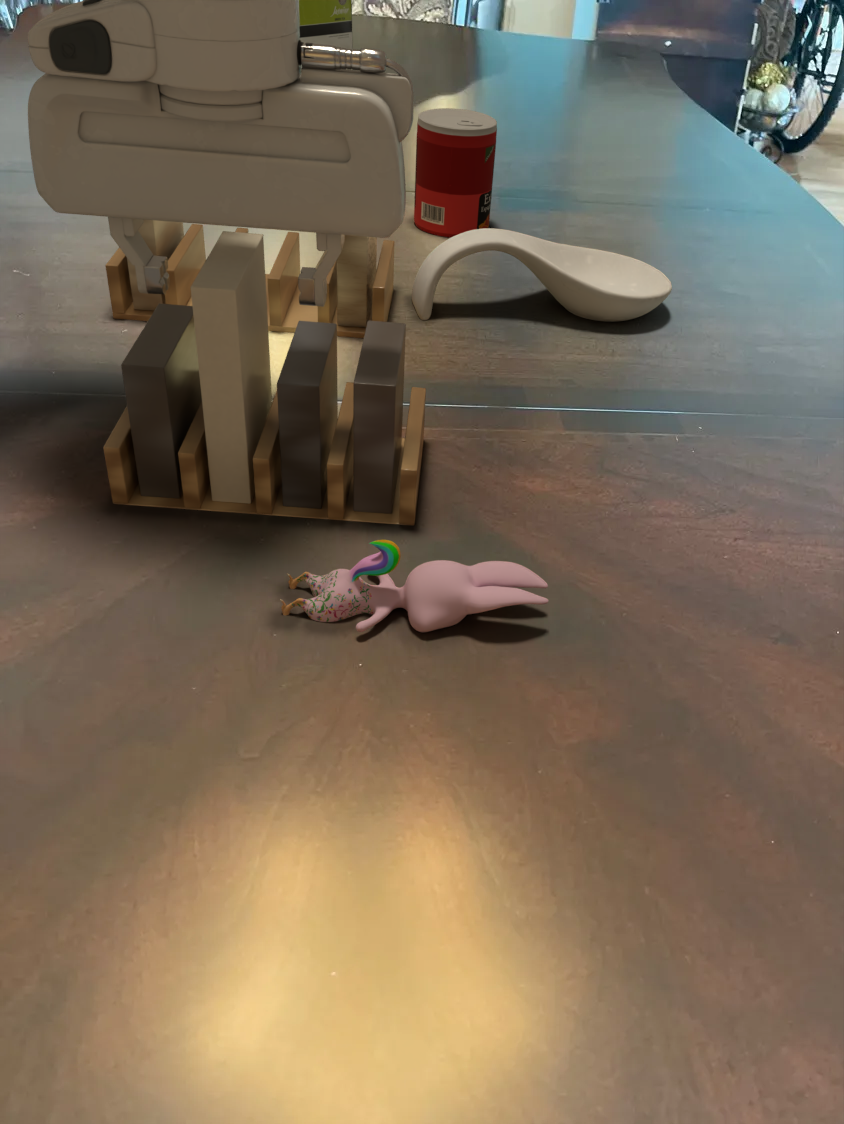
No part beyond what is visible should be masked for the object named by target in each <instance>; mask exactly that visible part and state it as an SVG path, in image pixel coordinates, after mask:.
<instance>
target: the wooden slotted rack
mask: <svg viewBox="0 0 844 1124" xmlns="http://www.w3.org/2000/svg"><path fill="white" fill-rule="evenodd" d="M203 225H204V224H196V223H191V225H190V226H189V228H188V229H187V230H186V232H185V231H184V223H183V222H170V221H157V220H144V223H143V224H142V226H141V227H140V228H139V230H138V231H139V233H140V235H141V236H142V238H143V239H144V241H145V242H146V244H147V246H148V247H149V249H150V250H151V252H152V253H153V255H154V256H164V257H167V261H168V269H167V271H166V272H167V273H168V274H169V277H170V285H169V289H168V290H166V294H145V293H140V292H139V290H138V285H137V278H136V271H135V265H132V264H131V262H130V261H129V260H128V258H127V257H126V256H125V254H124V253H123V252H122V250H121V249H120V247H119V246H118V248H117V250H115V252H114V253H113V255H112V256H111V257H110V258H109V260H108V261H107V263H106V264H105V265H104V266H105V272H106V279H107V284H108V293H109V298H110V305H111V312H112V318H113V319H115V320H117V319H118V320H129V321H138V322H139V321H142V322H148V320H149V319H150V317H151V316H152V314H153V312H154V311H155V309H156V307H157V306H158V304H159V303H160V304H172V305H185V306H192V296H191V286H192V284H193V282H194V280H195V279H196V277H197V275H198V273H199V272H200V270H201V268H202V266H203V265H204V263H205V261H206V260H207V254H206V245H205V233H204V226H203ZM234 232H241V233H249V228H248V227H236V229H235V231H234ZM395 243H396V242H395V240H392V239H391V240H390V239H383V241H382V245H381V249H380V254H379V257H378V261H377V256H378V255H377V254H378V252H377V251H378V237H365V236H352V235H345V241H344V244H343V247H342V250H341V253H340V255H339V257H338V258H337V260H336V262H335V263H334V265H333V267H332V269H331V270H330V272H329V274H328V275H327V297H326V302H325V305H324V307H322V306H309V305H300V304H299V294H300V290H299V289H298V277H299V274H301V249H300V248H301V247H300V232H299V231H287V233H286V235H285V238H284V240H283V241H282V244H281V247H280V249H279V251H278V254H277V256H276V258H275V260H274V262H273V265H272V267H271V270H270V272H269V273H265V278H266V297H267V316H268V332H276V333H277V332H278V333H279V332H280V333H291V334H294V333H295V330H296V327H297V324H298V322H299V321H310V322H322V323H335V324H337V337H341V338H354V339H364V335H365V331H366V326H367V322H368V321H382V322H388V320H389V313H390V310H391V309H390V308H391V305H392V299H393V293H394V282H395V281H394V279H395V275H394V274H395Z"/></svg>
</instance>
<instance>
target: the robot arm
mask: <svg viewBox="0 0 844 1124" xmlns="http://www.w3.org/2000/svg"><path fill="white" fill-rule="evenodd" d="M27 47H28V51H29V55H30V58H31V62H32V63H33V65H34V66H35V68H36V69H37V70H39V71H40V72H42V73H44V74H43V75H42V76H40V77H39V78H38V79H36V81H35V82H34V83H33V84H32V86H31V89H30V92H29V94H28V95H29V96H28V100H27V124H28V125H27V128H28V129H27V130H28V139H29V151H30V160H31V166H32V167H31V168H32V172H33V173H32V174H33V179H34V183H35V187H36V190H37V193H38V195H39V196H40V197H41V198H42V200H43V201H44V202H45V203H46V204H47V205H48V206H49V208H51V210H53V211H54V212H55V213H57V214H66V215H67V214H68V215H81V216H92V217H93V216H94V217H104V218H105V217H107V220H108V228H109V234H110V237H111V239H112V240H113V241H114V242H115V243H116V245H117V246H118V248H119V247H120V249H121V250H122V252H123V253H124V254H125V256H126V257H127V258H128V260H129V261H130V262H131V264H132V265H135V271H136V278H137V285H138V290H139V292H140V293H145V294H166V290H168V289H169V285H170V277H169V274H168V273H167V272H166V271H167V269H168V261H167V257H164V256H154V255H153V253H152V252H151V250H150V249H149V247H148V246H147V244H146V242H145V241H144V239H143V238H142V236H141V235H140V233H139V231H138V230H139V228H140V227H141V226H142V224H143V223H144V220H157V221H170V222H183V224H184V223H185V224H200V225H209V226H221V227H222V226H224V227H235V228H248V229H249V228H250V229H263V230H276V231H287V232H299V233H301V232H302V233H314V234H315V239H316V240H315V241H316V242H315V243H316V250H317V251H318V252H323V253H322V255H321V257H320V258H319V260H318V262H317V263H316V265H315V267H308V266H302V267H301V268H300V274H299V277H298V289H299V290H300V294H299V304H300V305H309V306H322V307H324V305H325V302H326V297H327V275H328V274H329V272H330V270H331V269H332V267H333V265H334V263H335V262H336V260H337V258H338V257H339V255H340V253H341V250H342V247H343V244H344V241H345V235H352V236H365V237H377V239H378V238H380V239H387V238H389V237H390V238H391V236H392V235H394V233H395V232H396V231H397V230H398V229H399V228H400V227H401V225H402V224H403V222H404V219H405V215H406V214H405V213H406V204H407V200H406V199H407V191H406V168H405V158H404V149H403V148H404V147H403V146H404V145H403V141H404V140H405V139H406V138H407V136H408V135H409V133H410V131H411V130H412V126H413V123H414V105H415V103H414V102H415V89H414V84H413V82H412V79H411V77H410V75H409V73H408V72H407V70H406V69H405V68H404V67H403V66H402V65H401V64H399V62H397V61H395V60H393V59H392V58H388V57H387V53H386V51H383V50H381V49H377V48H372V47H361V48H360V49H357V48H356V49H355V48H353V49H348V48H347V49H346V48H343V47H342V48H341V47H338V46H337V47H336V46H333V45H325V44H313V43H304V42H301V40H300V22H299V0H80V1H77V2H75V3H71V4H68V5H66V6H64V7H60V8H58V9H57V10H54V11H53V12H51V13H49V14H47V15H46V16H45V15H44V17H43V18H41V19H40V20H39V21H37V22H36V23H34V25H33V26H32V27H31V28H30V29H29V31H28V32H27ZM387 68H388V69H390V70H392V71H394V72H395V73H391V72H387V71H386V70H387Z"/></svg>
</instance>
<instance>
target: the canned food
mask: <svg viewBox="0 0 844 1124" xmlns="http://www.w3.org/2000/svg"><path fill="white" fill-rule="evenodd" d="M416 122H417V124H416V141H415V143H416V144H415V173H414V174H415V175H414V201H413V203H414V204H413V205H414V208H413V222H414V224H415V227H416V228H418V229H419V230H420V231H422V232H424V233H427V234H430V235H432V236H433V235H434V236H437V237H443V238H451V237H453V236H456V235H458V234H460V233H463V232H466V231H470V230H475V229H483V228H490V218H491V207H492V206H491V205H492V195H493V182H494V171H495V160H496V159H495V158H496V149H497V136H498V135H497V134H498V126H497V125H498V122H497V119H496V118H494V117H492V116H491V115H488V114H487V113H483V112H480V111H476V110H470V109H463V108H454V107H453V108H450V107H446V108H445V107H440V108H430V109H426V110H424V111H421V112H420V113H418V116H417V121H416Z"/></svg>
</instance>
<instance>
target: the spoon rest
mask: <svg viewBox="0 0 844 1124" xmlns="http://www.w3.org/2000/svg"><path fill="white" fill-rule="evenodd" d="M487 251H488V252H489V251H492V252H493V251H494V252H501V253H504V254H507V255H510V256H512V257H513V258H515V259H517V260H518V261H520V262H521V263H522V264H523V265H524V266H525V267H527V269H528V270H529V271H530V272H531V273H532V274H533V275H534V276H535V277H536V278H537V280H538V281H539V282H540V283H541V284H542V285H543V286H544V287H545V288H546V290H547V292H549V294H551V296H553V298H554V299H555V301H557V302H558V303H559V304H560V305H561V307H563V308H565V310H567V311H568V312H569V313H570V314H573V315H574V316H576V317H579V318H583V319H586V320H590V321H598V322H606V323H608V322H609V323H611V322H613V323H614V322H623V321H624V322H625V321H629V320H633V319H637V318H639V317H642V316H645V315H646V314H648V313H650V312H651V311H653V310H654V309H656V308H657V307H658V306H660V305H661V304H662V303H663V302H664V301H665V300H666V299H667V298H668V297H670V296H669V295H670V294H671V293H672V291H673V286H672V282H671V280H670V279H669V278H668V276H666V275H665V273H664V272H662V271H661V270H659V269H658V268H656V267H655V266H653V265H650V264H649V263H647V262H644V261H642V260H640V259H637V258H634V257H632V256H628V255H624V254H620V253H617V252H612V251H608V250H603V249H602V250H601V249H597V248H591V247H584V246H576V245H571V244H565V243H559V242H555V241H550V240H548V239H543V238H540V237H537V236H534V235H530V234H526V233H522V232H518V231H514V230H509V229H502V228H493V227H491V228H490V227H488V228H483V229H475V230H470V231H466V232H463V233H460V234H458V235H456V236H453V237H448V238H447V239H445V240H444V241H442V242H441V243H439V244H438V245H437V246H435V248H434V249H432V250H431V252H429V254H428V255H427V256H426V257H425V259H424V260H423V261H422V263H421V264H420V266H419V268H418V270H417V273H416V275H415V278H414V280H413V284H412V291H411V303H412V305H413V307H414V310H415V313H416V314H417V316H418V318H419V319H420V320H421V321H427V320H429V319H430V318H431V315H432V311H433V310H432V309H433V304H434V299H435V293H436V289H437V286H438V284H439V282H440V280H441V278H442V276H443V275H444V273H445V272H447V270H448V269H449V268H450V267H451V266H452V265H454V264H455V263H457V262H458V261H460V260H462V259H463V258H465V257H468V256H470V255H474V254H477V253H482V252H487Z"/></svg>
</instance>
